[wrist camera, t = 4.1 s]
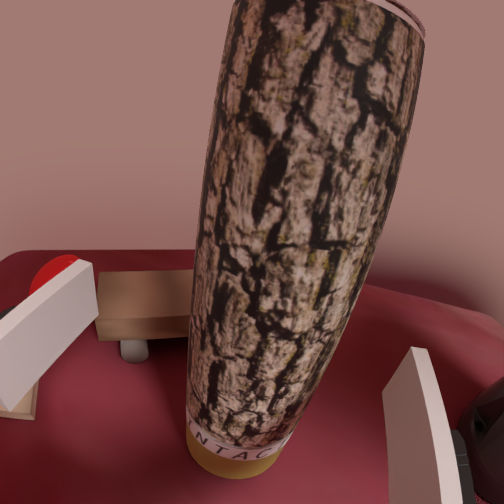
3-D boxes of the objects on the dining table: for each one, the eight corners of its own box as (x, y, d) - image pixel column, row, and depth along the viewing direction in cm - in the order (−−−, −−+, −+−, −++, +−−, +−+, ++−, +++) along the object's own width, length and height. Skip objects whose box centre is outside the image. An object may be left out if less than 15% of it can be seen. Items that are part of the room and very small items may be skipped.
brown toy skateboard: (277, 297, 37) (286, 263, 35) (310, 345, 30) (324, 308, 28) (104, 308, 29) (99, 269, 27) (103, 368, 22) (94, 327, 20)
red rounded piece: (91, 260, 31) (46, 238, 27) (102, 270, 27) (47, 244, 23) (68, 324, 30) (22, 305, 26) (75, 344, 25) (21, 324, 21)
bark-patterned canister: (197, 398, 22) (247, 24, 11) (281, 414, 22) (391, 57, 11) (175, 470, 16) (215, -38, 5) (275, 488, 16) (462, 25, 5)
